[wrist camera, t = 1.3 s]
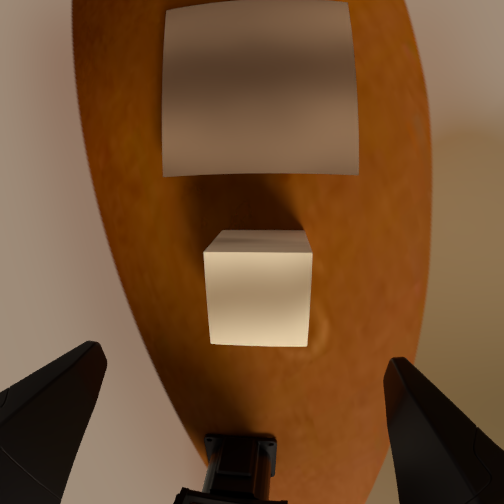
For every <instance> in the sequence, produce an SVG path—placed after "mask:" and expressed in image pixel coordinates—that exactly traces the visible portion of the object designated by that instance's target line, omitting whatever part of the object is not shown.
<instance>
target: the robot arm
mask: <svg viewBox="0 0 504 504" xmlns="http://www.w3.org/2000/svg"><path fill="white" fill-rule="evenodd" d="M106 368H107V359H106V357H105V354H104V352H103V350H102V347H101V345H100V344H99V343H98V342H94V341H86V342H84V343H83V344H81V345H79V346H78V347H76V348H74V349H73V350H71V351H69V352H68V353H66V354H64V355H62V356H61V357H59V358H57V359H56V360H54V361H52V362H51V363H49V364H47V365H46V366H44V367H42V368H40V369H39V370H37V371H35V372H34V373H32V374H30V375H29V376H27V377H25V378H24V379H22V380H20V381H19V382H17V383H15V384H14V385H12V386H10V388H7V389H5V390H4V391H2V392H0V504H60V503H61V499H62V496H63V493H64V490H65V487H66V484H67V480H68V477H69V474H70V472H71V468H72V466H73V462H74V460H75V457H76V454H77V452H78V449H79V446H80V443H81V441H82V438H83V435H84V433H85V430H86V428H87V425H88V422H89V420H90V417H91V414H92V412H93V410H94V407H95V404H96V401H97V398H98V395H99V391H100V388H101V385H102V381H103V378H104V375H105V371H106ZM383 384H384V394H385V405H386V417H387V427H388V433H389V439H390V444H391V449H392V455H393V461H394V467H395V474H396V480H397V488H398V494H399V503H400V504H504V450H502V449H501V448H500V447H499V446H498V445H496V444H495V443H494V442H493V441H492V440H491V439H490V438H489V437H488V436H487V435H486V434H485V433H484V432H483V431H482V430H481V429H480V428H479V427H477V428H476V425H475V424H474V423H473V422H472V421H471V420H470V419H469V418H468V417H467V416H466V415H465V414H464V413H463V412H462V411H461V410H460V409H459V408H458V407H457V406H456V405H455V404H454V403H453V402H452V401H451V400H450V399H448V398H447V397H446V396H445V395H444V394H443V393H442V392H441V391H440V390H439V389H438V388H437V387H436V386H435V385H434V384H433V383H432V382H430V380H428V379H427V378H426V377H425V376H424V375H423V374H422V373H421V372H420V371H419V370H418V369H417V368H416V367H415V366H414V365H412V364H411V363H410V362H409V361H408V360H407V359H406V358H405V357H393V358H391V359H390V361H389V364H388V367H387V369H386V372H385V375H384V380H383ZM204 441H205V446H206V451H207V456H208V461H209V466H208V470H207V474H206V478H205V481H204V486H203V489H202V492H199V491H193V490H189V488H184V487H182V489H181V492H180V494H177V495H176V498H175V501H174V503H173V504H288V501H286V500H281V501H269V489H270V477H273V476H274V475H275V465H276V450H277V440H276V439H274V438H256V437H239V436H227V435H216V434H206V435H205V438H204Z"/></svg>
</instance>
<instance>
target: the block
mask: <svg viewBox="0 0 504 504" xmlns="http://www.w3.org/2000/svg"><path fill="white" fill-rule="evenodd" d="M204 268H205V282H206V295H207V307H208V319H209V330H210V341H211V344H224V345H246V346H307V339H308V326H309V311H310V294H311V275H312V250H311V247H310V244H309V242H308V239H307V236H306V233H305V231H304V230H222V231H221V232H220V233H219V235H218V236H217V237H216V238H215V239H214V240H213V242H212V243H211V244H210V245H209V246H208V247H207V248H206V250H205V251H204Z"/></svg>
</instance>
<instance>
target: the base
mask: <svg viewBox="0 0 504 504" xmlns="http://www.w3.org/2000/svg"><path fill="white" fill-rule="evenodd" d="M162 159H163V177H171V176H188V175H210V174H243V173H308V174H342V175H359V132H358V104H357V86H356V72H355V60H354V49H353V40H352V31H351V23H350V16H349V9H348V3H347V2H338V1H326V0H237V1H226V2H216V3H208V4H201V5H194V6H188V7H182V8H176V9H171V10H166V20H165V34H164V51H163V76H162Z"/></svg>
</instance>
